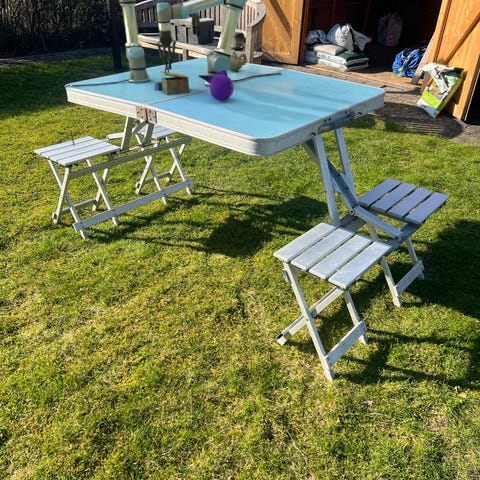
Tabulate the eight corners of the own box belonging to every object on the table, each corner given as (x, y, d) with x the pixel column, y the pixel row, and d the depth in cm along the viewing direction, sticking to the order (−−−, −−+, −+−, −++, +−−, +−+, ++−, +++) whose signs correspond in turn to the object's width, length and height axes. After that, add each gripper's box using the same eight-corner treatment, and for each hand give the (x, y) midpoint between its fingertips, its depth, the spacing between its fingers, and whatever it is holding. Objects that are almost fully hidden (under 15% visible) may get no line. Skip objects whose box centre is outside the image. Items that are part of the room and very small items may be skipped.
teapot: (227, 73, 359) (226, 53, 351) (220, 71, 367) (219, 51, 360) (250, 70, 368) (249, 51, 360) (242, 68, 376) (242, 49, 369)
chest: (167, 94, 298) (166, 80, 293) (162, 91, 306) (161, 78, 302) (189, 92, 303) (188, 78, 299) (184, 89, 312) (183, 75, 307)
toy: (220, 92, 299) (233, 106, 278) (195, 88, 292) (206, 102, 271) (226, 68, 291) (240, 80, 270) (200, 63, 284) (212, 75, 263)
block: (158, 90, 310) (157, 83, 307) (155, 89, 313) (154, 82, 310) (164, 89, 312) (164, 82, 310) (161, 88, 315) (160, 81, 313)
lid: (165, 75, 291) (166, 61, 288) (160, 72, 300) (161, 59, 297) (188, 78, 299) (189, 65, 295) (182, 75, 307) (184, 62, 304)
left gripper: (203, 5, 329) (204, 36, 339) (195, 3, 349) (197, 33, 360) (193, 5, 327) (195, 37, 338) (186, 4, 347) (188, 34, 358)
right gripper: (155, 31, 279) (159, 71, 291) (177, 30, 284) (181, 69, 296) (152, 30, 285) (156, 69, 296) (174, 29, 290) (177, 67, 302)
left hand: (196, 35), depth 349 cm, fingers open, 13 cm apart
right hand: (168, 69), depth 296 cm, fingers closed on lid, 2 cm apart
